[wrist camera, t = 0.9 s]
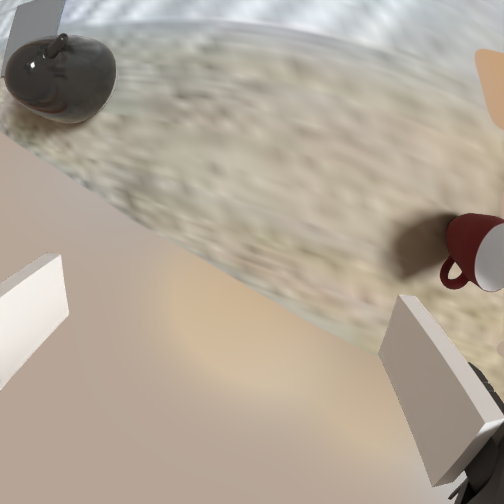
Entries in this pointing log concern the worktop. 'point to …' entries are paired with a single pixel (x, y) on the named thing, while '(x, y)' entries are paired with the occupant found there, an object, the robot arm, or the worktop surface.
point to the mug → (475, 252)
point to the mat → (33, 24)
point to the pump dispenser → (62, 77)
